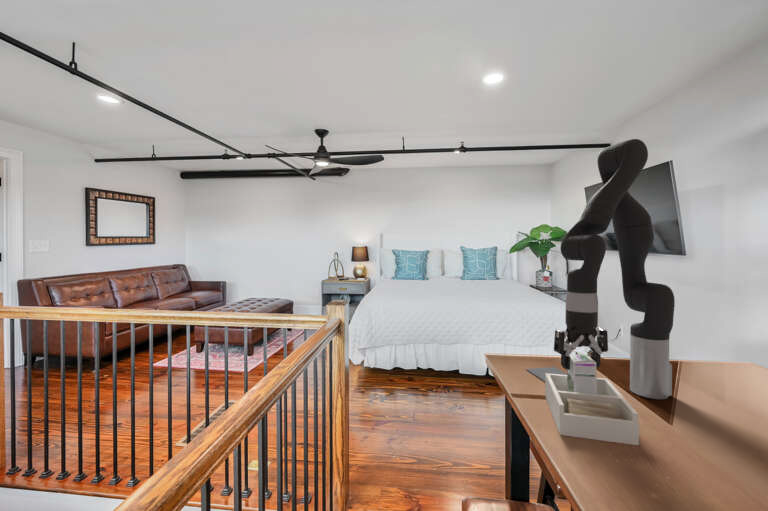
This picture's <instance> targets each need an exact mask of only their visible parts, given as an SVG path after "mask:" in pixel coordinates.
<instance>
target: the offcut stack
mask: <svg viewBox="0 0 768 511" xmlns="http://www.w3.org/2000/svg"><path fill="white" fill-rule="evenodd" d="M567 407H568V408H567V413H570V414H579V415H588V416H596V417H605V418H613V419H622V418H621V417H620V416H619V415H618V414H617V413H616V411H615V409H614V408H613V406H612V405H611V404H606V403H598V402H590V401H582V400H574V399H567ZM622 420H623V419H622Z"/></svg>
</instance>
